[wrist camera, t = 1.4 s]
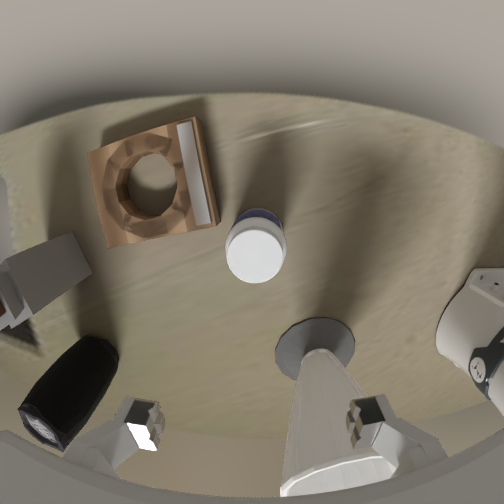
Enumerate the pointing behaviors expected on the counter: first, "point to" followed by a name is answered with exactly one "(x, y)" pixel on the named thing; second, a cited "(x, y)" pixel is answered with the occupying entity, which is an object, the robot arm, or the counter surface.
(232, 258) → the pill bottle
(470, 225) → the counter surface
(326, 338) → the cup
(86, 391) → the portable speaker
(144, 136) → the jig
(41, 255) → the perfume bottle
